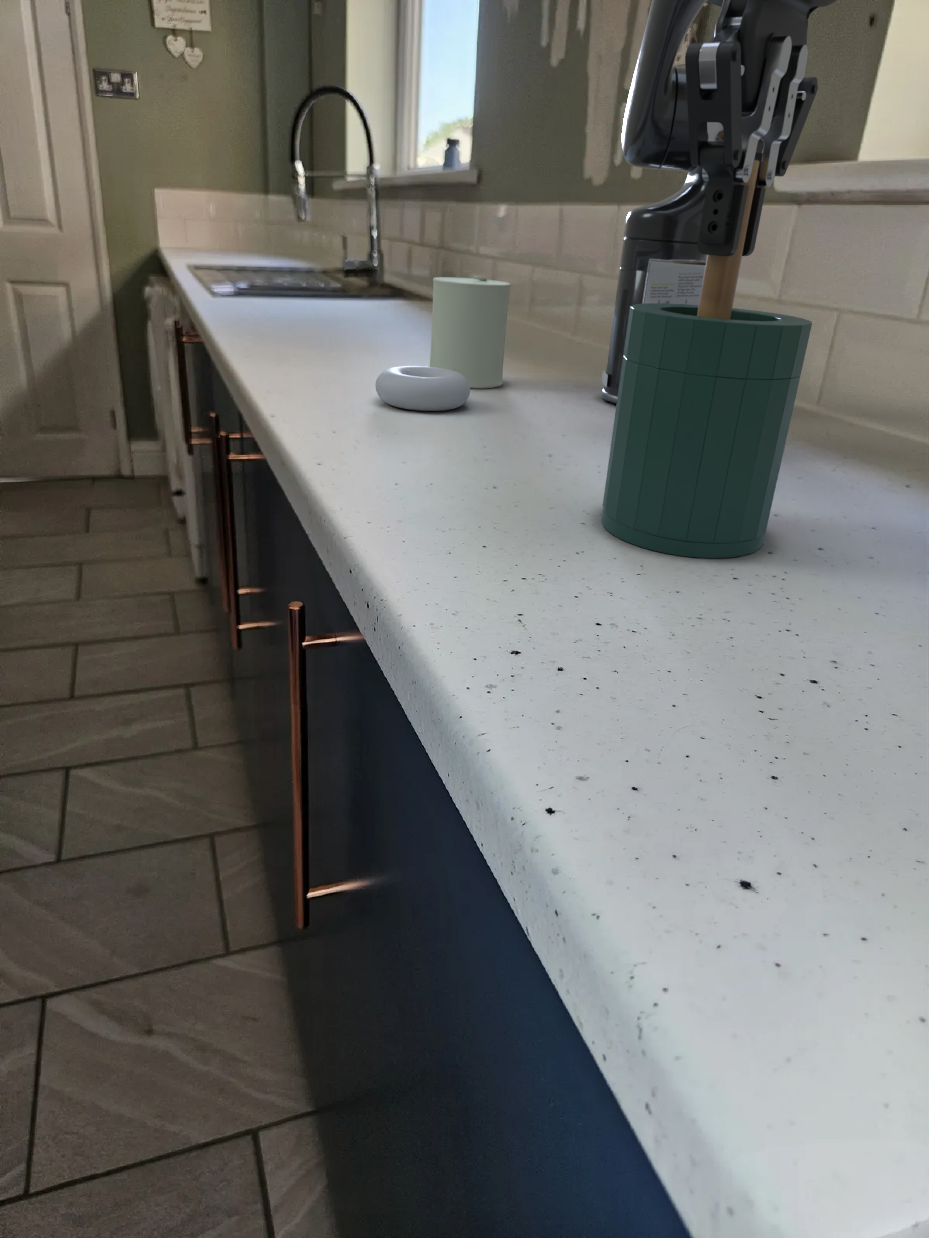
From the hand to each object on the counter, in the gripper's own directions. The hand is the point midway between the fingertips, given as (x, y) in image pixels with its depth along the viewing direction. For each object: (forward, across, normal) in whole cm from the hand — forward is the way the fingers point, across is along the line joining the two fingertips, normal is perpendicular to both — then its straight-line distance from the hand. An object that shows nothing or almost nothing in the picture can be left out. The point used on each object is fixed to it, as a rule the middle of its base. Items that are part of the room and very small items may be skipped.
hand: (724, 253), depth 52 cm
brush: (+15, 0, 0) cm, 15 cm away
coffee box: (+18, -24, -14) cm, 33 cm away
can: (+18, -32, -44) cm, 57 cm away
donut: (+18, -17, -38) cm, 45 cm away
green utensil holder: (+17, 0, 0) cm, 17 cm away
